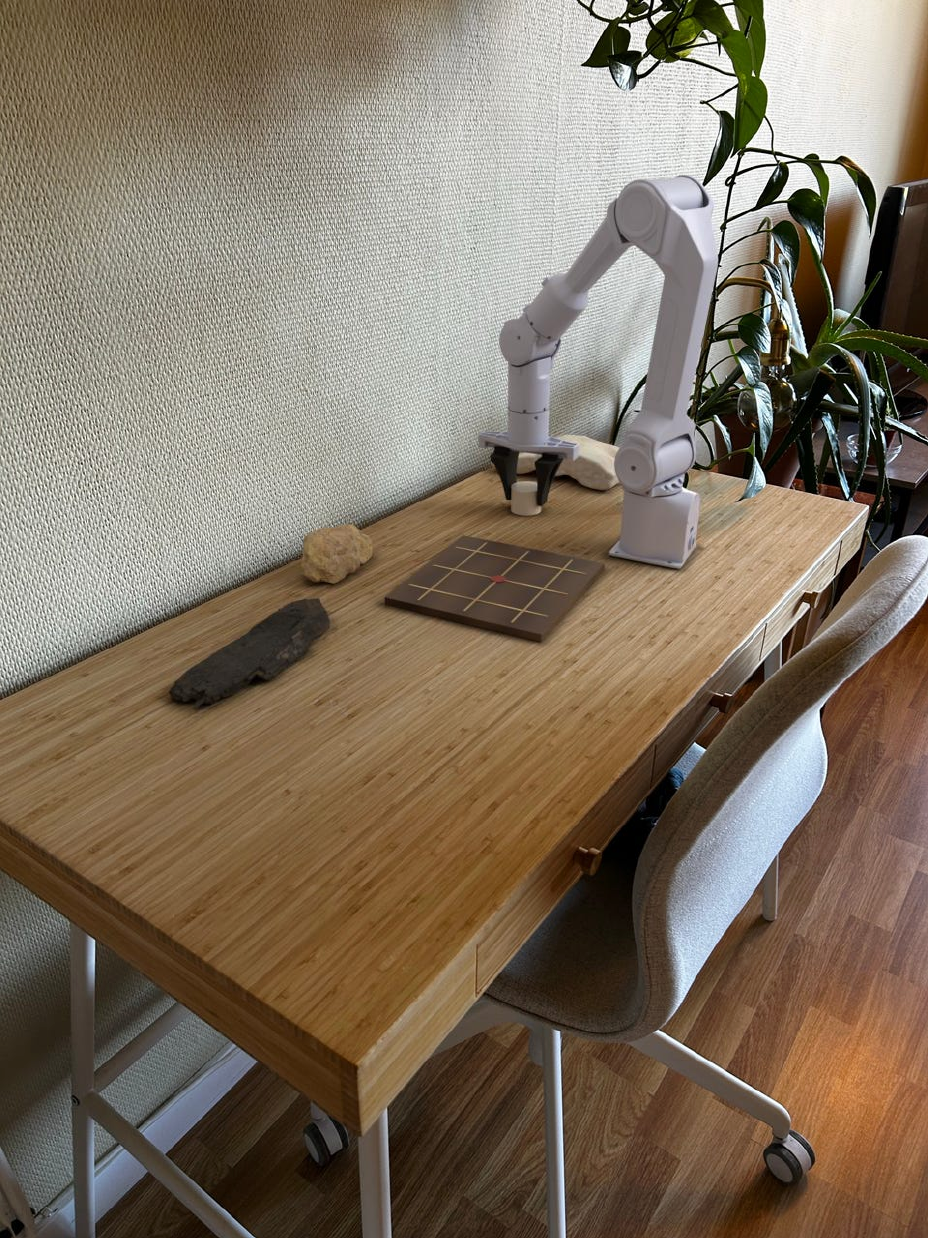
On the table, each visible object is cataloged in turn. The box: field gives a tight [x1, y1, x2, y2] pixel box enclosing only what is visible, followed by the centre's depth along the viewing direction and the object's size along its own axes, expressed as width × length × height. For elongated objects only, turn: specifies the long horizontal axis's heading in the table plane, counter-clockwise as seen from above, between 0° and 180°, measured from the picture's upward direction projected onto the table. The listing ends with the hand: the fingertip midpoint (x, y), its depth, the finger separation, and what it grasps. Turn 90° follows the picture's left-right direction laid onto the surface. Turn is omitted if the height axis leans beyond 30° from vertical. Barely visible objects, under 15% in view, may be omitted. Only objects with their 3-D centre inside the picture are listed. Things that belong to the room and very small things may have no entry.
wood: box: [168, 597, 331, 710], centre depth 96 cm, size 22×7×3 cm, turn 150°
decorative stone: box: [491, 434, 621, 491], centre depth 146 cm, size 21×5×15 cm
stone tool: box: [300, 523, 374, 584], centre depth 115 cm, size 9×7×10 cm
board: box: [383, 534, 606, 643], centre depth 111 cm, size 20×20×1 cm
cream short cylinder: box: [510, 480, 542, 517], centre depth 132 cm, size 4×4×4 cm
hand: (526, 500), depth 132 cm, fingers closed on cream short cylinder, 4 cm apart
